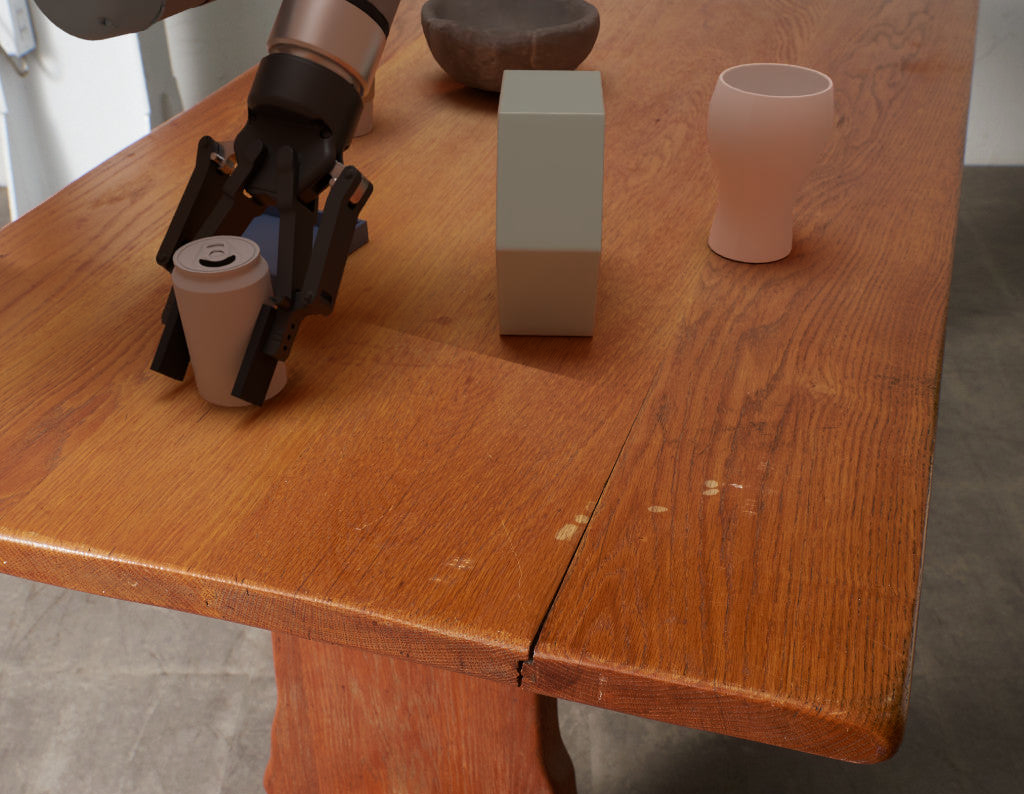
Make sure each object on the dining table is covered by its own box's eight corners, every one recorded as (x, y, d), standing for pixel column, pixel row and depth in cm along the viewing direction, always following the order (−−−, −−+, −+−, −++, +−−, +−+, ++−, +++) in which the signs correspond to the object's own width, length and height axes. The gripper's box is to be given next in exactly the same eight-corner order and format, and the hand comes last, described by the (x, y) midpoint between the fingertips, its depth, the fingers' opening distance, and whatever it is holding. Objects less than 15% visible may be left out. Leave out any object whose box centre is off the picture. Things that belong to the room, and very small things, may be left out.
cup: (829, 246, 95) (865, 79, 85) (762, 282, 89) (792, 108, 80) (737, 212, 101) (761, 53, 91) (669, 244, 95) (686, 78, 86)
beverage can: (205, 434, 71) (168, 279, 64) (200, 387, 76) (165, 237, 68) (295, 420, 73) (269, 266, 65) (285, 374, 78) (260, 226, 70)
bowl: (629, 100, 127) (636, 14, 121) (466, 127, 120) (463, 37, 114) (547, 52, 143) (548, -26, 137) (398, 73, 136) (392, -8, 130)
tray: (169, 267, 92) (165, 246, 90) (260, 215, 101) (256, 195, 99) (285, 298, 87) (282, 277, 86) (369, 240, 96) (367, 220, 95)
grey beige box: (503, 341, 90) (506, 101, 88) (589, 342, 90) (595, 102, 88) (494, 327, 74) (497, 31, 71) (600, 328, 73) (607, 31, 71)
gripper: (455, 126, 71) (347, 436, 70) (237, 87, 77) (136, 369, 77) (410, 67, 64) (290, 411, 63) (174, 29, 70) (63, 339, 70)
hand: (205, 387), depth 70 cm, fingers closed on beverage can, 6 cm apart
